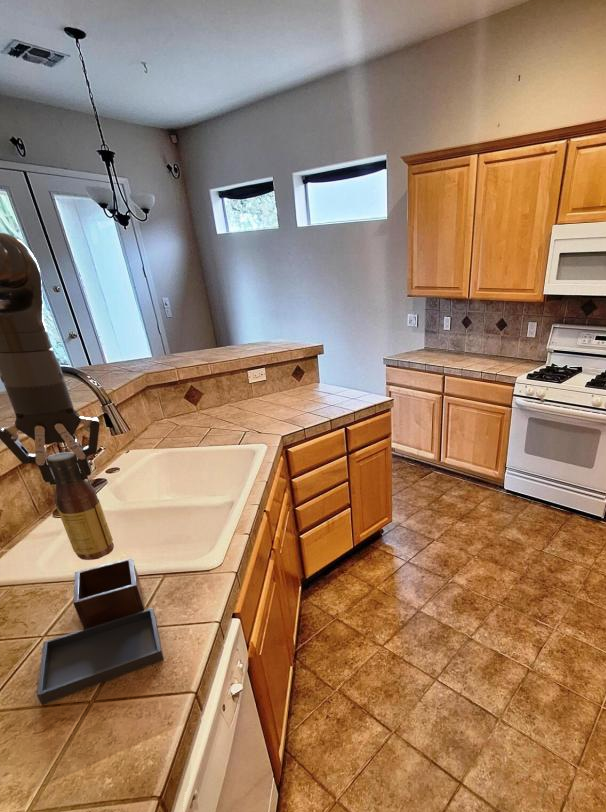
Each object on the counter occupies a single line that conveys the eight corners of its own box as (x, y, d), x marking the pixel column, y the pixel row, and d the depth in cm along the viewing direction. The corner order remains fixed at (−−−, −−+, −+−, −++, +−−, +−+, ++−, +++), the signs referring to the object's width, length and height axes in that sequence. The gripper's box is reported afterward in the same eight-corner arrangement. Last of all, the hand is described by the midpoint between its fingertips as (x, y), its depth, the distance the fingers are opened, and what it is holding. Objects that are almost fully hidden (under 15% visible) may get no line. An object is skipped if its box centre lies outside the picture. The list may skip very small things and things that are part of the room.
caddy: (84, 632, 81) (73, 603, 78) (85, 599, 89) (74, 572, 86) (145, 613, 86) (136, 585, 83) (140, 584, 94) (132, 557, 91)
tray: (41, 705, 67) (36, 695, 66) (47, 650, 77) (43, 641, 76) (163, 659, 75) (161, 650, 74) (155, 615, 85) (152, 607, 84)
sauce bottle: (95, 542, 85) (64, 446, 76) (123, 546, 84) (94, 450, 75) (66, 560, 79) (29, 459, 70) (95, 565, 78) (61, 463, 69)
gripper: (89, 372, 73) (116, 466, 81) (-22, 379, 66) (20, 481, 74) (89, 380, 68) (118, 479, 75) (-32, 389, 61) (14, 497, 68)
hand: (69, 480), depth 74 cm, fingers closed on sauce bottle, 4 cm apart
